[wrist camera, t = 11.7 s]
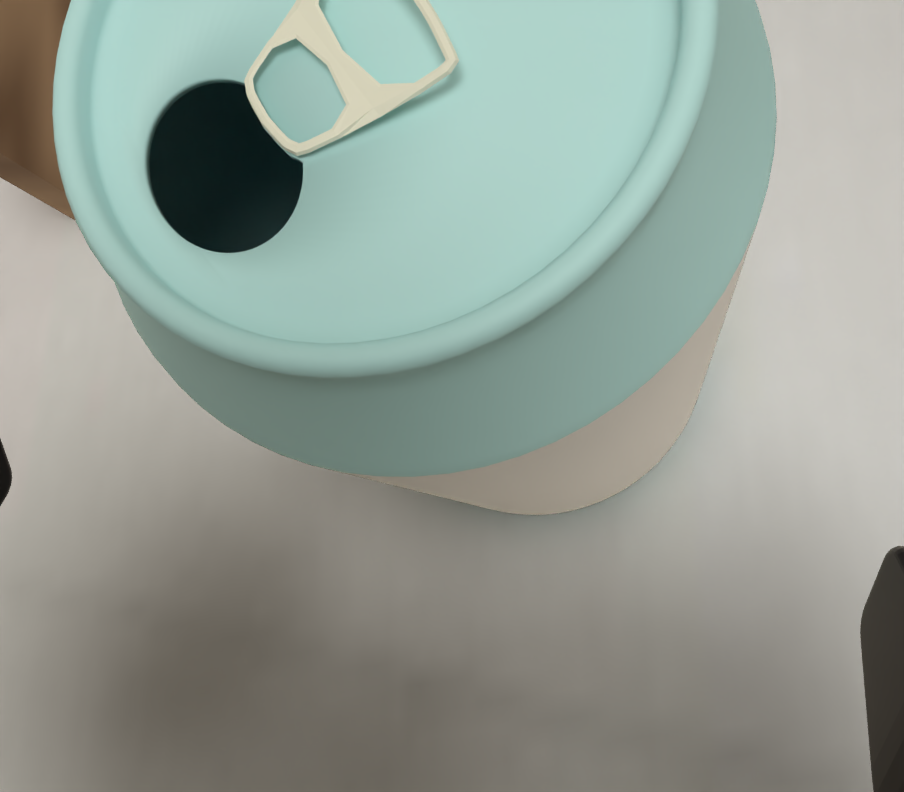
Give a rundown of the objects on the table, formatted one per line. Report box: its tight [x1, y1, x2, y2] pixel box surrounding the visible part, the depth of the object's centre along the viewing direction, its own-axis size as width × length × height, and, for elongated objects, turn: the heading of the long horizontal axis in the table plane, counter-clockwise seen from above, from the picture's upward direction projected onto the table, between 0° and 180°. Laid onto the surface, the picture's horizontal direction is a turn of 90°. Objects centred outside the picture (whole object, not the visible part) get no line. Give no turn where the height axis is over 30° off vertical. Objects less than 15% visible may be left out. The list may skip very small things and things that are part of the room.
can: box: [52, 0, 777, 515], centre depth 13 cm, size 7×7×12 cm
